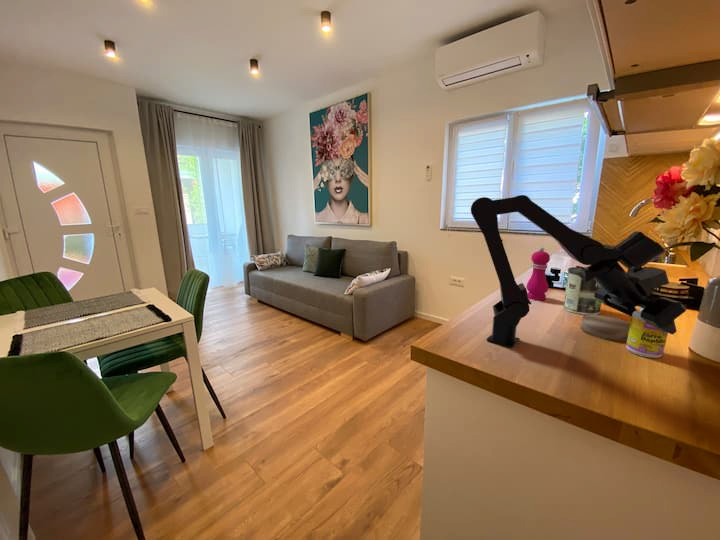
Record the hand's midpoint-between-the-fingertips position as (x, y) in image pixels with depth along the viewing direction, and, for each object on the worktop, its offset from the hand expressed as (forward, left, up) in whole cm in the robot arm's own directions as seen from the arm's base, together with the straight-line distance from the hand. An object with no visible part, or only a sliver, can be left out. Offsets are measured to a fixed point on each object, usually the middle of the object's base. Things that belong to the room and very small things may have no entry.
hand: (655, 324), depth 71 cm
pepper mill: (+28, +33, -7) cm, 44 cm away
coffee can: (+24, +18, -7) cm, 31 cm away
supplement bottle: (-1, +1, -7) cm, 8 cm away
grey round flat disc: (+7, +9, -7) cm, 14 cm away
